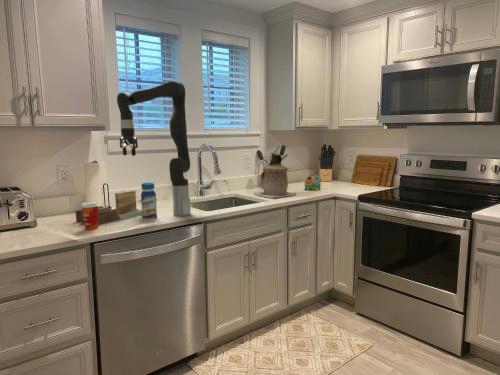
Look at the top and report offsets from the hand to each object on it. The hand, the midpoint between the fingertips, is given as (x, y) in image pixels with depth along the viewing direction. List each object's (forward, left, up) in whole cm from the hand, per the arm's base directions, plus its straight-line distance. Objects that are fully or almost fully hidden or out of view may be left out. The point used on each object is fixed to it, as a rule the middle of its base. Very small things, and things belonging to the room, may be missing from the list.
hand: (129, 155), depth 222 cm
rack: (-10, +29, -34) cm, 46 cm away
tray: (-12, +12, -34) cm, 38 cm away
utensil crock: (-39, -96, -34) cm, 109 cm away
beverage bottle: (-24, +6, -34) cm, 42 cm away
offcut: (-11, +29, -33) cm, 45 cm away
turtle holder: (-50, -136, -34) cm, 149 cm away
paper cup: (-22, +39, -34) cm, 56 cm away
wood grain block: (-12, +12, -33) cm, 37 cm away
